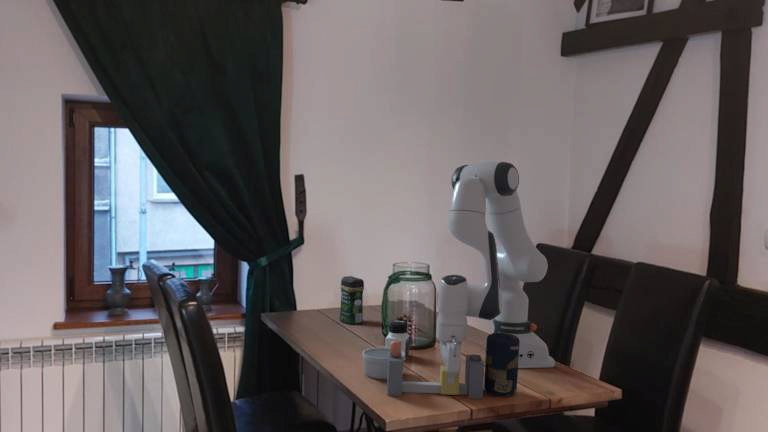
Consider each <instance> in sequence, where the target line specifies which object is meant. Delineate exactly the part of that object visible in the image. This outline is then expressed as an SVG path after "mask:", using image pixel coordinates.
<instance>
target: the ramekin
mask: <svg viewBox="0 0 768 432" xmlns="http://www.w3.org/2000/svg"><path fill="white" fill-rule="evenodd" d="M388 352H390V348H385V347H371V348H370V347H369V348H367V349H364V350H363V351H362V360H363V370H364V371H363V372H364V373H365V374H366V376H367V377H369V378H371V379H376V380H387V373H388ZM401 353H402V357H403V364H404V361H405V360H404V359H405V353H404V352H403V351H401Z"/></svg>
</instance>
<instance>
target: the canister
mask: <svg viewBox="0 0 768 432" xmlns="http://www.w3.org/2000/svg"><path fill="white" fill-rule="evenodd" d="M519 344H520V341H519V338H518V337H517V336H515V335H511V334H506V333H503V332H499V333H493V334H492V333H490V334H488V335H487V336H486V344H485V346H486V347H485V361H484V382H483V390H484V391H486V393H488V394H489V395H493V396H497V397H508V396H509V397H510V396H513V395H515V394H516V393H517V389H518V376H519V368H518V358H519Z"/></svg>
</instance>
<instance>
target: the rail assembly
mask: <svg viewBox="0 0 768 432" xmlns="http://www.w3.org/2000/svg"><path fill="white" fill-rule="evenodd" d="M403 371H404V363H403V357H402V353H401V356H400V357H392V356H390V352H388V373H387V379H386V380H387V381H386V388H387V389H386V390H387V391H386V392H387V396H389V397H390V396H392V397H394V396H395V397H401V396H403V393H415V394H416V393H419V394H441V383H440V382H435V381H433V382H431V381H403V377H404V376H403V375H404V374H403V373H404V372H403ZM484 380H485V361H483V359H482V357H481V355H479V354H474V353H473V354H466V355H465V369H464V383H463V382H461V383H460V382H459V395H467V398H468V399H479V398H482V399H483V398H484V396H483V395H484Z"/></svg>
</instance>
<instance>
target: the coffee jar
mask: <svg viewBox="0 0 768 432" xmlns="http://www.w3.org/2000/svg"><path fill="white" fill-rule="evenodd" d="M340 289H341V294H340V296H341V297H340V309H339V310H340V311H339V320H340V321H341V322H343V323H344V324H347V325H348V324H349V325H351V324H352V325H359V324H361V323H363V319H364V317H363V315H364V313H363V310H364V309H363V307H364V306H363V305H364V303H363V300H364V299H363V296H364V289H365V281H364V280H363V279H362V278H359V277H355V276H352V275H348V276H347V275H346V276H343V277H342V278H341V281H340Z"/></svg>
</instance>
